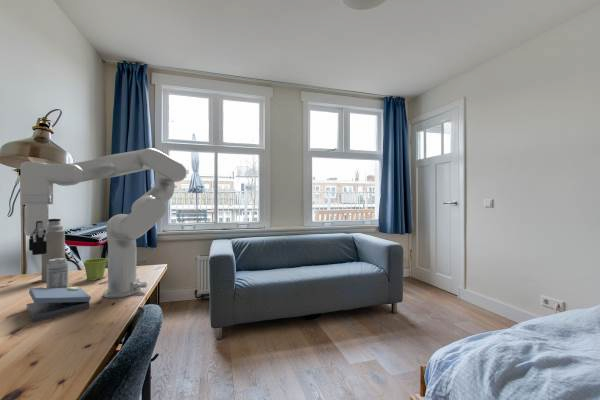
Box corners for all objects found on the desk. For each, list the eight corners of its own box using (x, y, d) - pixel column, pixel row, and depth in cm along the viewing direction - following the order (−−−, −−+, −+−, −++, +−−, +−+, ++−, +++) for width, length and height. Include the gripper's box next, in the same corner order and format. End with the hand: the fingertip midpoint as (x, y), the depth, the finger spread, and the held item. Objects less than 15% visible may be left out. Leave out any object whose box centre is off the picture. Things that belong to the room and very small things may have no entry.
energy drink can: (69, 294, 103) (69, 256, 103) (67, 299, 98) (67, 259, 98) (47, 298, 99) (47, 258, 99) (45, 303, 95) (45, 262, 94)
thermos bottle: (40, 278, 123) (40, 218, 122) (63, 275, 129) (63, 217, 129) (42, 282, 118) (42, 219, 117) (66, 278, 124) (66, 218, 123)
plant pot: (88, 276, 127) (88, 258, 127) (110, 275, 130) (111, 257, 130) (78, 282, 118) (78, 263, 118) (103, 280, 121) (103, 261, 121)
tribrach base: (79, 297, 100) (79, 292, 100) (89, 307, 91) (89, 302, 91) (26, 309, 89) (26, 304, 89) (32, 322, 80) (32, 316, 80)
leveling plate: (79, 292, 100) (81, 286, 100) (89, 301, 91) (91, 295, 92) (28, 292, 89) (31, 286, 90) (34, 303, 81) (36, 296, 81)
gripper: (18, 199, 89) (18, 250, 89) (23, 200, 78) (23, 258, 78) (49, 199, 95) (49, 247, 95) (57, 200, 83) (57, 254, 84)
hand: (37, 252), depth 86 cm, fingers open, 9 cm apart
